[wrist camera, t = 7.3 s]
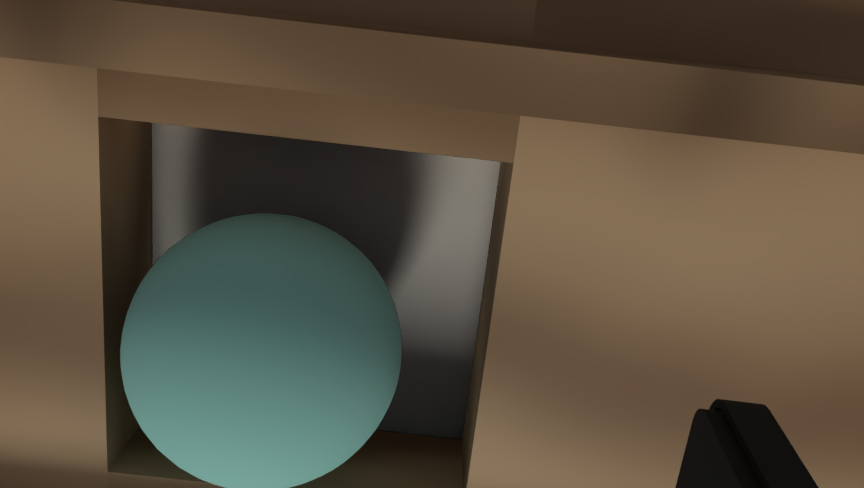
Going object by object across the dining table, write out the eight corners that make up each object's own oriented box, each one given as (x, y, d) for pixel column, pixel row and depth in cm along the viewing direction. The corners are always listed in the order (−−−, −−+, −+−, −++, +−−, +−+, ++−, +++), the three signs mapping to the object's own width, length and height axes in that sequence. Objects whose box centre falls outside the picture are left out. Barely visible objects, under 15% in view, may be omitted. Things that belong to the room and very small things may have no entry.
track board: (-98, -127, 15) (-269, -155, 11) (1307, 35, 15) (1566, 56, 12) (-36, 514, 19) (-145, 636, 16) (1041, 629, 20) (1169, 773, 16)
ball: (79, 188, 14) (217, 275, 11) (315, 181, 18) (477, 246, 14) (72, 442, 16) (194, 592, 12) (293, 390, 19) (437, 496, 15)
